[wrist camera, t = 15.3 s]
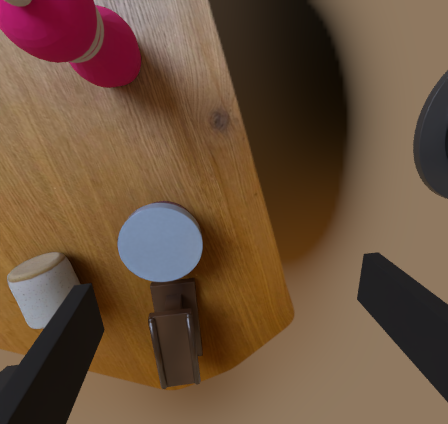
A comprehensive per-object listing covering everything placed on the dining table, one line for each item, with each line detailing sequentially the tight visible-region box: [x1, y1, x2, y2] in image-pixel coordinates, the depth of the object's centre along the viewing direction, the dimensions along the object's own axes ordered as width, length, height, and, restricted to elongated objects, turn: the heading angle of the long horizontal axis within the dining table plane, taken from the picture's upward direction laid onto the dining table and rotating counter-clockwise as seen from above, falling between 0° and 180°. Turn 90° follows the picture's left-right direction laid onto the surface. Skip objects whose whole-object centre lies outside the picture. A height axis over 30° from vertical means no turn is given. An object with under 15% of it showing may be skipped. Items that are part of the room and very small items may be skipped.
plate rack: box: [148, 278, 203, 389], centre depth 43 cm, size 7×16×8 cm, turn 3°
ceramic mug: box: [7, 252, 80, 329], centre depth 37 cm, size 11×8×8 cm
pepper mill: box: [0, 0, 141, 88], centre depth 22 cm, size 7×7×20 cm
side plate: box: [118, 203, 203, 282], centre depth 36 cm, size 11×11×2 cm
